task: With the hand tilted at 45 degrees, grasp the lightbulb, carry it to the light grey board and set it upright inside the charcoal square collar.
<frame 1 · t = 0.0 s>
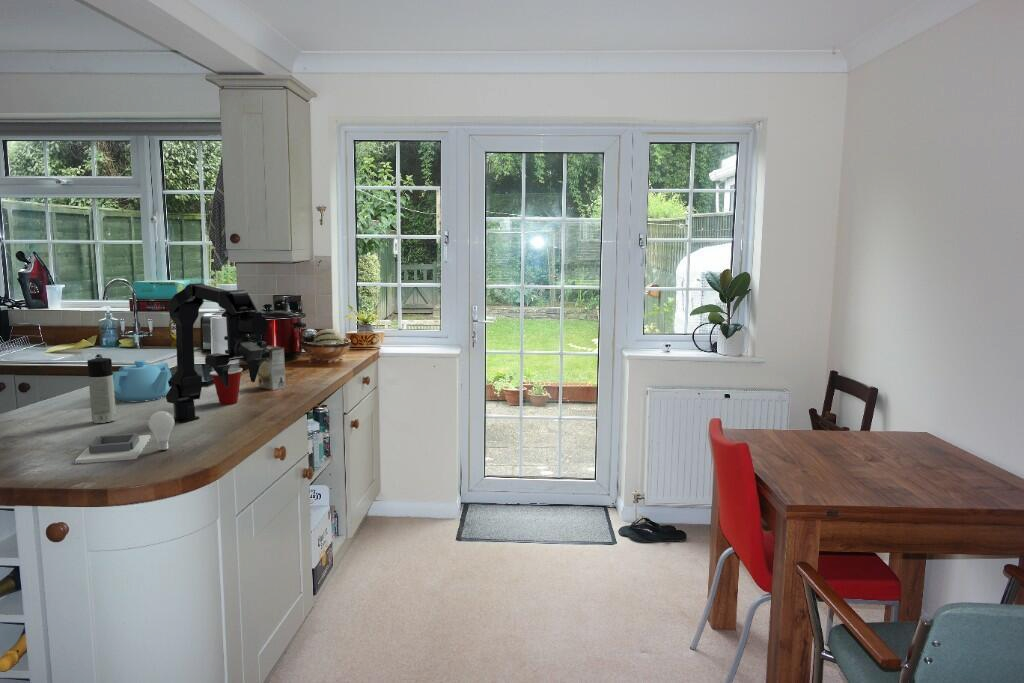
hand: (240, 384, 202), 15 cm above the table, tool pointing down, fingers open, 9 cm apart
plastic cup: (228, 403, 242), on the table
lightbulb: (163, 451, 187), on the table
coffee box: (272, 387, 268), on the table
teapot: (143, 398, 249), on the table
spray can: (104, 422, 216), on the table
bulb holder: (115, 450, 186), on the table
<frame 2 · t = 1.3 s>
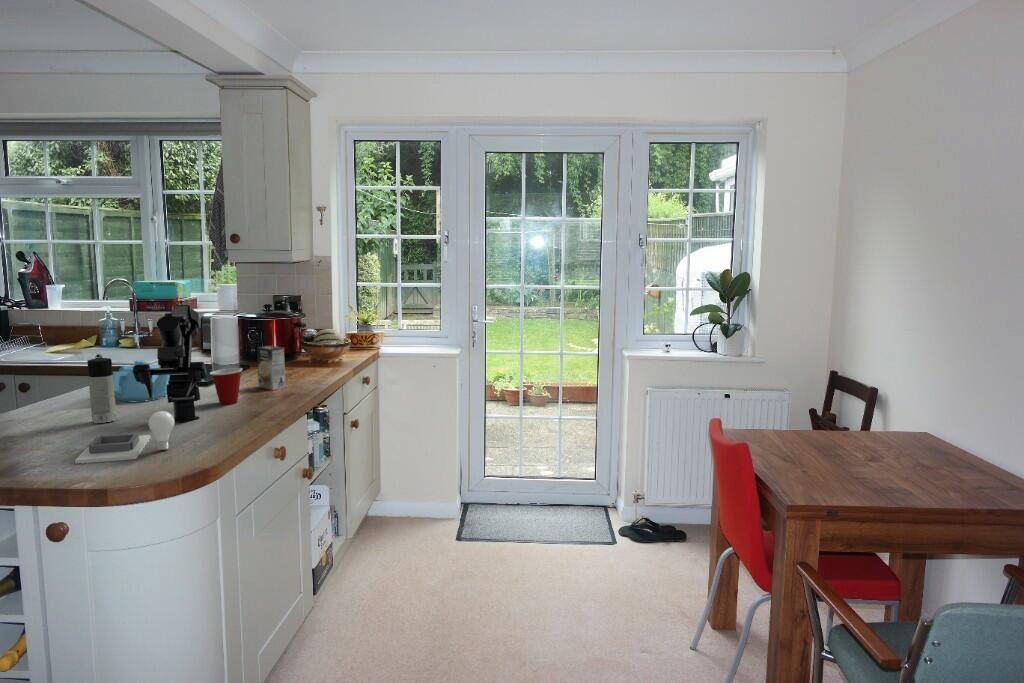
hand: (168, 396, 193), 13 cm above the table, tool tilted 45°, fingers open, 9 cm apart
nothing on the table moved.
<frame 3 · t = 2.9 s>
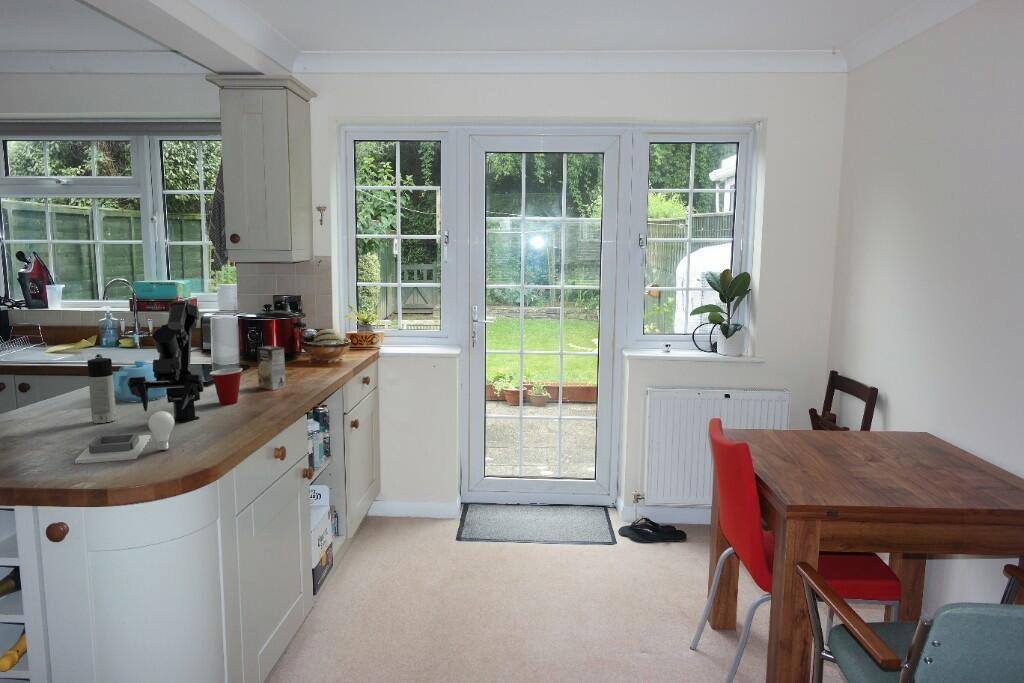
hand: (163, 409, 189), 11 cm above the table, tool tilted 45°, fingers open, 9 cm apart
nothing on the table moved.
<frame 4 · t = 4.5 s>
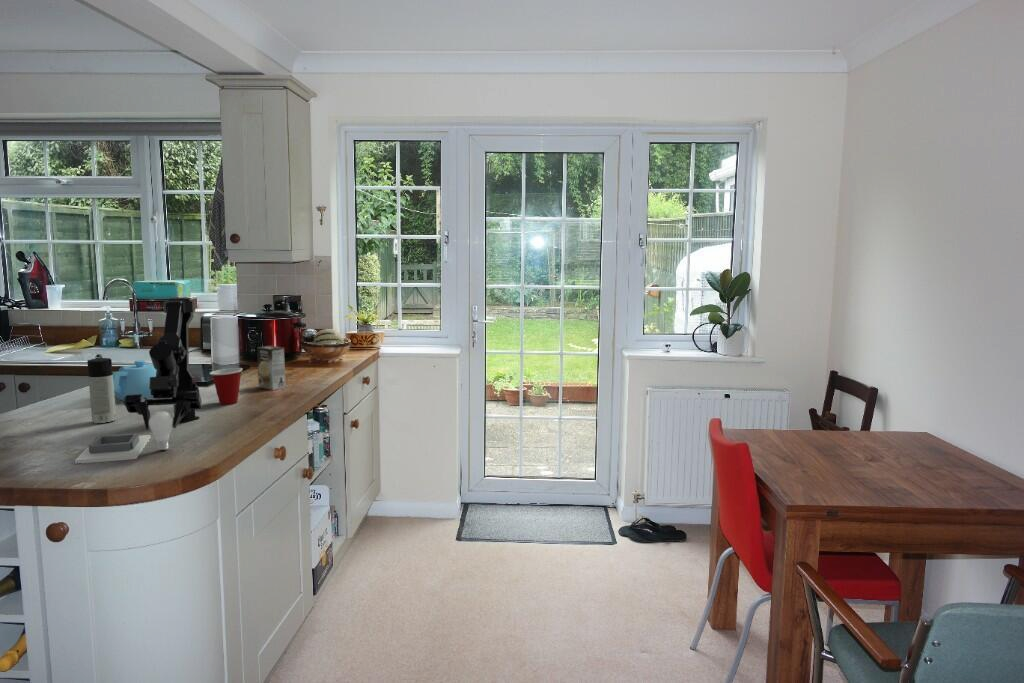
hand: (160, 428, 184), 7 cm above the table, tool tilted 45°, fingers closed on lightbulb, 6 cm apart
lightbulb: (163, 451, 187), on the table, touching gripper
everything else where it was.
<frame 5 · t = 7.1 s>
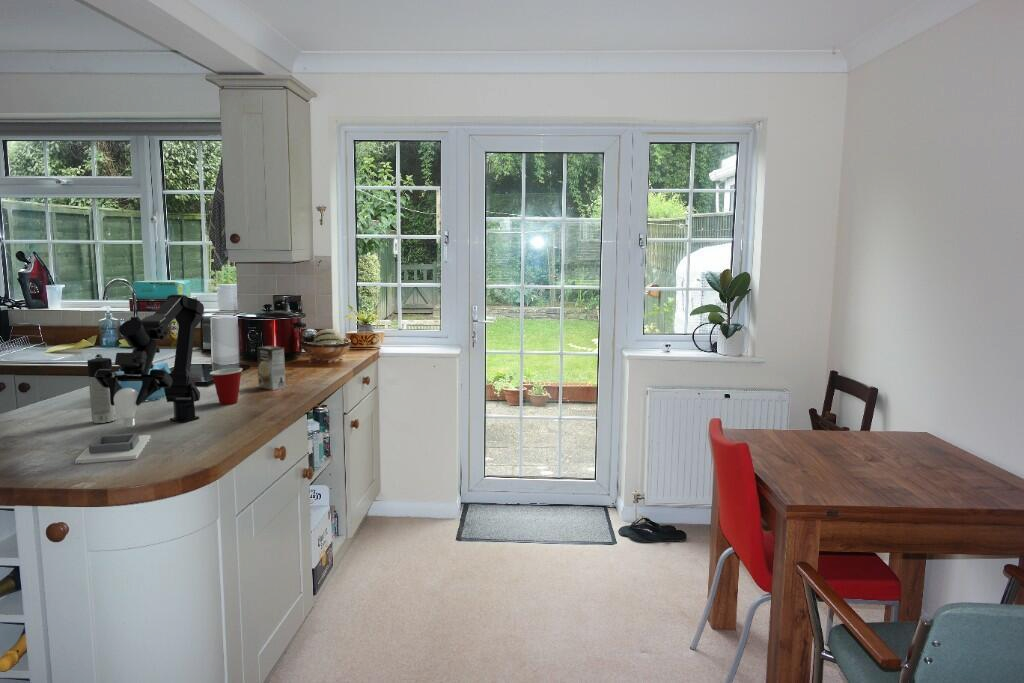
hand: (124, 404, 183), 13 cm above the table, tool tilted 45°, fingers closed on lightbulb, 6 cm apart
lightbulb: (129, 428, 185), point 6 cm above the table, touching gripper
everything else where it was.
when the fingers open (8 cm above the table, at t = 9.5 s): lightbulb stays where it is, resting on bulb holder.
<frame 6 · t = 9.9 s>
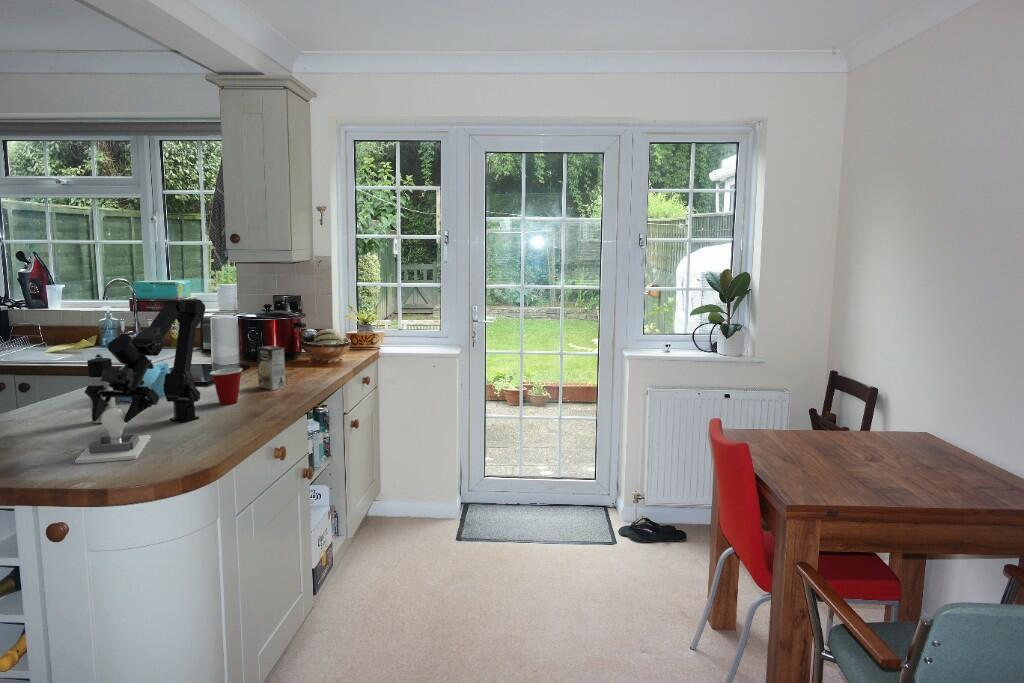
hand: (109, 421, 184), 9 cm above the table, tool tilted 45°, fingers open, 9 cm apart
lightbulb: (116, 447, 186), point 1 cm above the table, touching bulb holder
everything else where it was.
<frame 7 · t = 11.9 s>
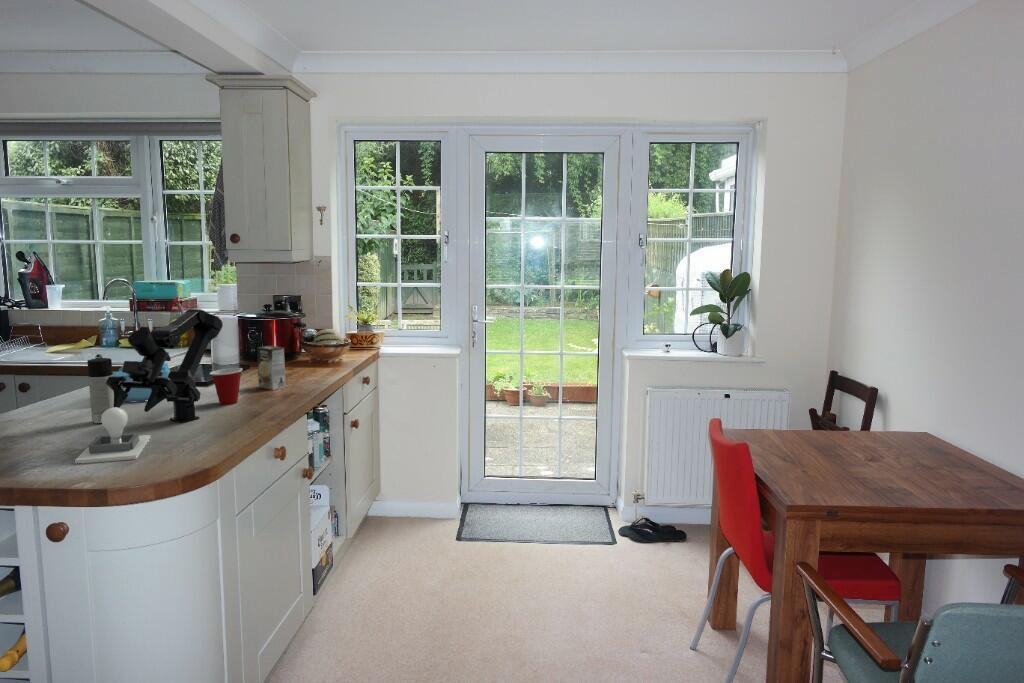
hand: (130, 410, 192), 9 cm above the table, tool tilted 45°, fingers open, 9 cm apart
nothing on the table moved.
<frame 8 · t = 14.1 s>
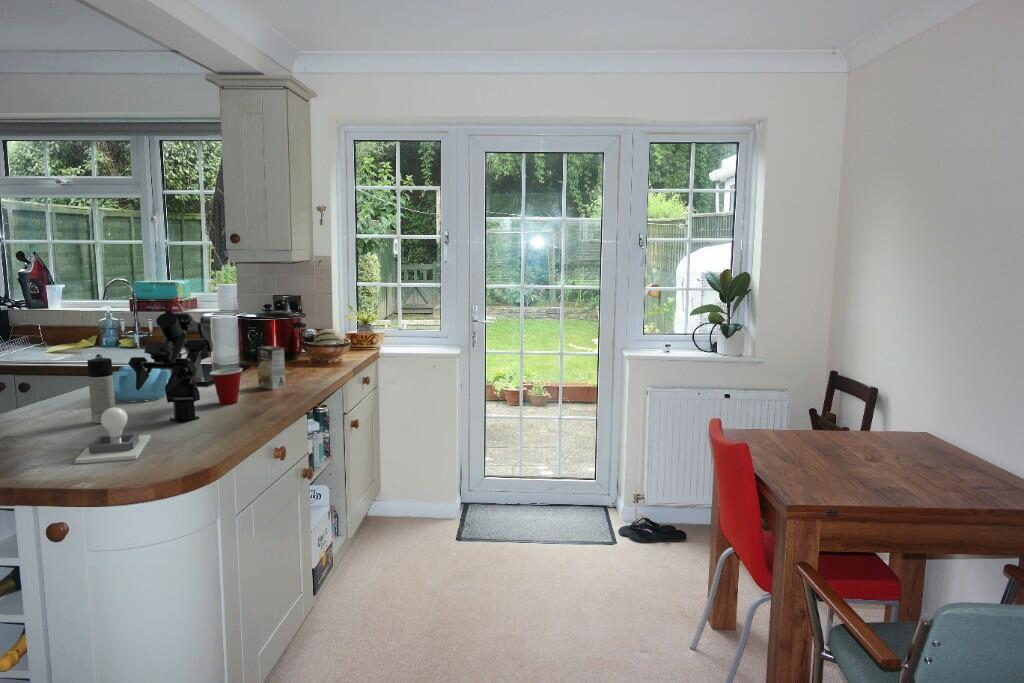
hand: (151, 389, 200), 14 cm above the table, tool tilted 45°, fingers open, 9 cm apart
nothing on the table moved.
at the end: lightbulb 0.4 cm off-centre on the bulb holder, point 0.8 cm above the bulb holder's base; lightbulb tilted 0°; the gripper is holding nothing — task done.
